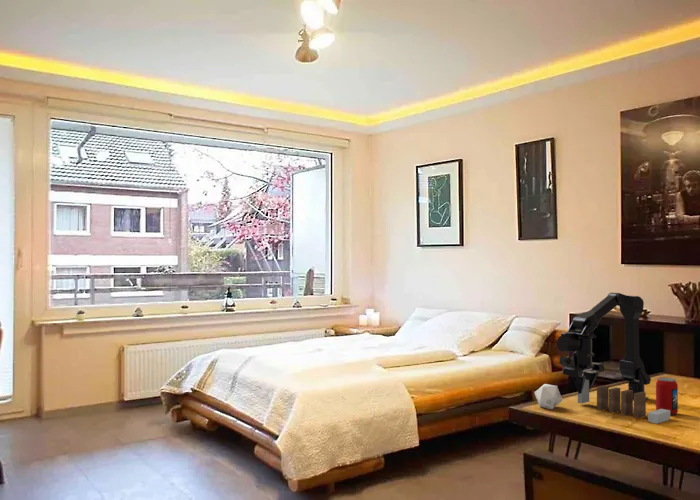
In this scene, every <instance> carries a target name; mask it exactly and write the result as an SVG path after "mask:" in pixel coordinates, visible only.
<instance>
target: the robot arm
mask: <svg viewBox="0 0 700 500" xmlns="http://www.w3.org/2000/svg"><path fill="white" fill-rule="evenodd" d="M644 304H645V303H644V299H643V298H641V297H640V295H627V294H624V293H620V292H609V293H608V294H607V296H606V297H605V298H603V299H602V300H600V301H599V302H598V303H597V304H596V305H595V306H593V307H592V308H591V309H590V310H588V311H584V312H582V313H581V312H580V313H579V314H577V315H576V316H574V317H573V319H572V322H571V324H570V326H569V327H568V328H567V330H566V332H561V333H560V336H559V337H558V338H557V340H556V347H557V349H558V350H559V351H560V352H562V353H563V352H572V354H571V356H569V357H567V356H566V355H561V356H559V361H558V362H559V365H561V366H562V375H565V376H568V377H571V379H572V380H573V382H574V385H575V389H576V391H577V394H578V393H579V394H581V393H582V390H583V387H584V383H585V379H587V380H589V392H590V391H591V389H592V387H593V385H594V383H595V382H596V380H597V378H598V376H599V375H600V373H602V372H605V365H604V363H600V362H593V359H592V358H593V357H595V353H594V352H593V339H596V338H597V335H596V334H594V330H595V329H597V327H598V326H599V322H600V320H601V319H603V318H604V317H605V316H606V315H607V314H609V312H611V311H612V310H614V308H616V307H617V306H618V307H619V312H620V313H621V315H622V317H623V319H624V353H625V355H624V357H623V359H619V363H618V364H619V369H618V370H619V371H620V375H621V377H622V381H623V382H628V385H627V386H628V387H627V388H628V389H627V390H633V400H634V393H638V392H645V389H646V388H645V386H647V385H650V383H651V382H652V381H651V380H652V378H651V377H650V376H649V374H648V373H647V372H646V369H645V364H644V362H643V359H642V358H641V356H640V327H639V325H640V317H641V316H642V314H643V312H644ZM645 393H646V392H645ZM648 399H649V396H646V400H648Z"/></svg>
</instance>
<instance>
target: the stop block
mask: <svg viewBox="0 0 700 500" xmlns="http://www.w3.org/2000/svg"><path fill="white" fill-rule="evenodd" d="M647 414H648V415H647V417H648V418H647V421H648V422H649V423H653V424H656V425H657V424H660V423H664V422H667V421H669V420H671V415H670V410H665V409H659V410H656V409H655V410H652V411H649V412H647Z"/></svg>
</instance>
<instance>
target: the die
mask: <svg viewBox="0 0 700 500" xmlns="http://www.w3.org/2000/svg"><path fill="white" fill-rule="evenodd" d="M558 387H559V386H558V385H553V384H548V383H544V384H543V385H542V386H540V387H539V388H538V389H537V390H536V391H533V392H534V396H535V398H536V401H537V403H538V405H539V407H541V408H544V409H547V410H553V409H554V408H556V407H557V406H558V405H559V404H560V403H561V402H563V398H562V395H561V393H560V391H559V390H560V389H559V388H558Z"/></svg>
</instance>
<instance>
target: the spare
mask: <svg viewBox="0 0 700 500" xmlns="http://www.w3.org/2000/svg"><path fill="white" fill-rule="evenodd" d="M589 402H590V391H589V380H587V379H585V383H584V387H583V390H582V393H581V394H579V393H578V392H577V403H578V404H585V403H589Z"/></svg>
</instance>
